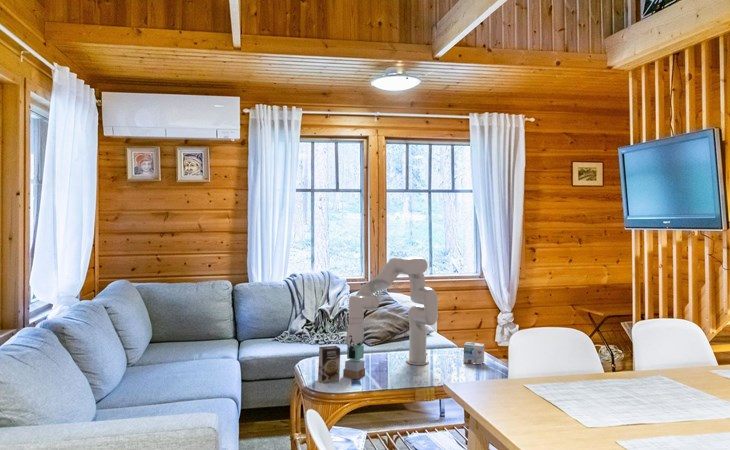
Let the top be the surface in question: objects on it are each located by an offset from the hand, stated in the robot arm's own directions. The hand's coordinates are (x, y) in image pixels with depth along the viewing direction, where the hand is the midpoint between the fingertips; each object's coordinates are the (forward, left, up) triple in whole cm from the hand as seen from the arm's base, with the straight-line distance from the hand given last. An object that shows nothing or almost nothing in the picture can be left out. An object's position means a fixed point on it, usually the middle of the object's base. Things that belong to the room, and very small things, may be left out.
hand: (355, 356), depth 245 cm
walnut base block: (0, 0, -10) cm, 10 cm away
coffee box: (+13, -7, -10) cm, 18 cm away
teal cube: (0, 0, -1) cm, 1 cm away
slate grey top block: (0, 0, -6) cm, 6 cm away
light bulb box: (-59, +43, -10) cm, 74 cm away
